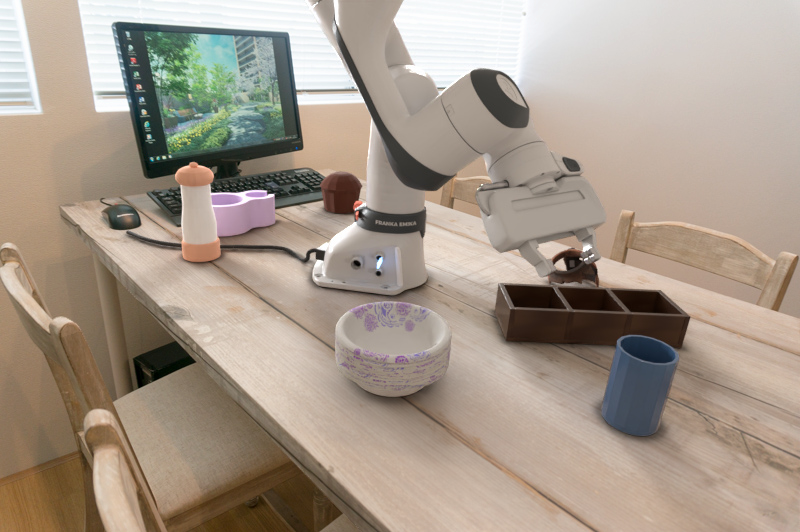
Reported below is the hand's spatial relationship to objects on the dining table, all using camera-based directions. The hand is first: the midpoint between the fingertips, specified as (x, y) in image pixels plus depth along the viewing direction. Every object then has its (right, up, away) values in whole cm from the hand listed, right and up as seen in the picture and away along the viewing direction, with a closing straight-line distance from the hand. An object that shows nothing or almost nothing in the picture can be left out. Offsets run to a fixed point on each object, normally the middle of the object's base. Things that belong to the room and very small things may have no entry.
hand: (572, 268), depth 69 cm
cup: (+6, -19, -3) cm, 20 cm away
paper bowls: (-24, -15, +3) cm, 28 cm away
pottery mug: (+12, -3, +36) cm, 38 cm away
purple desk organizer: (-63, +10, +58) cm, 86 cm away
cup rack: (+8, -10, +19) cm, 23 cm away
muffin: (-39, +16, +76) cm, 87 cm away
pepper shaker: (-63, +2, +40) cm, 75 cm away
